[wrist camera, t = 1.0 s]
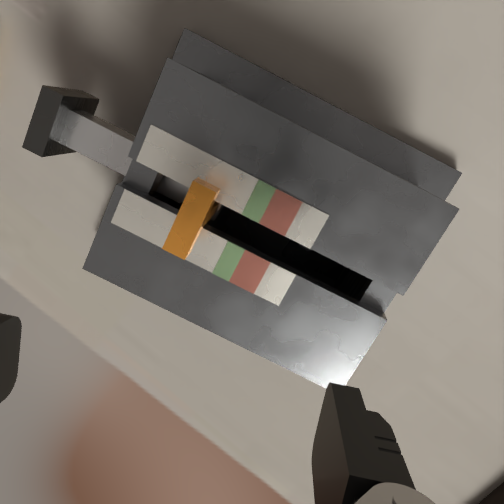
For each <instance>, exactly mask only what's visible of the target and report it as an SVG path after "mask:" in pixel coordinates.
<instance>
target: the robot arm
mask: <svg viewBox="0 0 504 504" xmlns="http://www.w3.org/2000/svg"><path fill="white" fill-rule="evenodd" d="M21 327H22V326H21V321H20V319H19V318H18V317H16V316H11V315H6V314H1V313H0V403H1V402H2V401H3V400H4V399H5V398H6V397H7V396H8V395H9V394H10V392H11V391H12V389H13V387H14V384H15V382H16V378H17V373H18V362H19V351H20V339H21ZM312 474H313V486H314V498H315V504H435V503H434V502H433V501H432V500H430V499H429V498H428V497H427V496H425V495H424V494H422V493H420V492H419V491H417V490H416V489H415V487H414V484H413V481H412V479H411V476H410V474H409V471H408V469H407V466H406V463H405V461H404V458H403V456H402V455H401V451H400V448H399V446H398V443H396V438H395V435H394V433H393V430H392V428H391V426H390V425H389V424H388V423H387V422H386V421H385V420H384V418H383V417H382V416H381V415H380V414H379V413H377V412H373V411H368V410H366V408H365V405H364V402H363V398H362V395H361V392H360V389H359V388H354V387H350V386H345V385H340V384H335V383H329V384H328V386H327V389H326V392H325V397H324V401H323V405H322V409H321V413H320V417H319V421H318V426H317V430H316V434H315V438H314V443H313V451H312Z"/></svg>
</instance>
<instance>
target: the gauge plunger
mask: <svg viewBox="0 0 504 504" xmlns="http://www.w3.org/2000/svg"><path fill="white" fill-rule="evenodd" d="M98 102H99V99H98V98H96V97H94V96H92V95H90V94H88V93H86V92H84V91H82V90H75V89H68V88H60V87H53V86H45V85H43V86H42V89H41V92H40V95H39V98H38V101H37V104H36V107H35V110H34V113H33V116H32V119H31V122H30V125H29V128H28V131H27V134H26V137H25V140H24V143H23V146H22V147H23V148H25V149H27V150H29V151H31V152H33V153H35V154H37V155H39V156H41V157H46V156H53V155H60V154H66V153H73V152H78V153H80V154H82V155H84V156H86V157H88V158H90V159H92V160H94V161H96V162H98V163H100V164H102V165H104V166H106V167H108V168H110V169H112V170H114V171H116V172H118V173H120V174H122V175H124V176H126V174H127V171H128V169H129V166H130V164H131V161H132V158H130V157H128V154H129V152H130V149H131V147H132V144H133V142H134V139H135V137H136V136H134V135H132V134H130V133H128V132H126V131H124V130H122V129H120V128H118V127H116V126H115V125H113V124H111V123H109V122H107V121H105V120H103V119H101V118H99V117H97V116H95V115H94V113H95V110H96V108H97V105H98ZM156 192H158V193H160V194H162V195H164V196H166V197H168V198H170V199H172V200H174V201H176V202H178V203H180V204H182V206H181V208H180V210H179V212H178V214H177V217H176V219H175V221H174V223H173V225H172V228H171V230H170V232H169V234H168V236H167V239H166V241H165V243H164V245H163V247H162V249H163V250H165V251H167V252H169V253H171V254H173V255H175V256H177V257H179V258H181V259H183V260H185V259H186V258H187V257H188V255H189V254H190V253H191V250H192V248H193V246H194V244H195V242H196V240H197V238H198V236H199V234H200V232H201V229H202V228H203V227H204V226H205V224H206V223H207V222H208V221H209V220H210V219H211V220H213V221H214V220H215V219H216V218H217V217H218V215H219V214H220V212H221V210H222V208H223V206H224V205H222V204H220V203H218V202H216V201H215V200H216V198H217V196H218V194H219V192H220V188H218V187H216V186H214V185H212V184H210V183H208V182H206V181H204V180H202V179H200V178H196V179H195V180H193V181H192V183H191V186H190V188H188V187H187V186H185V185H183V184H181V183H179V182H177V181H175V180H173V179H171V178H169V177H167V176H165V175H163V177H162V179H161V181H160V184H159V186H158V188H157V191H156Z"/></svg>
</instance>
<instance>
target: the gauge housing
mask: <svg viewBox="0 0 504 504" xmlns="http://www.w3.org/2000/svg"><path fill="white" fill-rule="evenodd" d="M128 157H130V158H132V161H131V164H130V166H129V169H128V171H127V174H126V176H124V178H123V181H122V182H121V183H119V184H116V187H115V189H114V191H113V194H112V196H111V199H110V201H109V204H108V206H107V209H106V211H105V214H104V216H103V219H102V221H101V224H100V226H99V229H98V231H97V234H96V236H95V239H94V241H93V244H92V246H91V249H90V251H89V254H88V256H87V259H86V261H85V263H84V266H83V268H82V269H84V270H86V271H88V272H91V273H93V274H95V275H97V276H99V277H101V278H103V279H105V280H107V281H109V282H111V283H113V284H115V285H117V286H119V287H121V288H123V289H125V290H127V291H129V292H131V293H133V294H135V295H137V296H139V297H141V298H143V299H145V300H148V301H150V302H152V303H154V304H156V305H158V306H160V307H162V308H164V309H166V310H168V311H170V312H172V313H174V314H176V315H178V316H180V317H182V318H184V319H186V320H188V321H190V322H192V323H194V324H196V325H198V326H200V327H202V328H204V329H207V330H209V331H211V332H213V333H215V334H217V335H219V336H221V337H223V338H225V339H227V340H229V341H231V342H233V343H235V344H237V345H239V346H241V347H243V348H245V349H247V350H249V351H251V352H253V353H255V354H257V355H259V356H261V357H263V358H266V359H268V360H270V361H272V362H274V363H276V364H278V365H280V366H282V367H284V368H286V369H288V370H290V371H292V372H294V373H296V374H298V375H300V376H302V377H304V378H306V379H308V380H310V381H312V382H314V383H316V384H318V385H320V386H322V387H325V388H327V386H328V384H329V383H335V384H340V385H346V383H347V382H348V380H349V379H350V377H351V376H352V374H353V373H354V371H355V370H356V368H357V366H358V365H359V363H360V362H361V360H362V359H363V357H364V356H365V354H366V353H367V351H368V349H369V348H370V346H371V345H372V343H373V342H374V340H375V339H376V337H377V336H378V334H379V332H380V331H381V329H382V328H383V326H384V325H385V323H386V322H387V319H386V317H385V314H384V312H385V310H386V309H387V307H388V306H389V304H390V303H391V301H392V300H393V298H394V296H395V295H396V293H399V294H401V295H404V294H405V292H406V291H407V289H408V288H409V286H410V285H411V283H412V281H413V280H414V278H415V277H416V275H417V274H418V272H419V271H420V269H421V268H422V266H423V265H424V263H425V261H426V260H427V258H428V257H429V255H430V254H431V252H432V251H433V249H434V248H435V246H436V244H437V243H438V241H439V240H440V238H441V237H442V235H443V234H444V232H445V231H446V229H447V227H448V226H449V224H450V223H451V221H452V220H453V218H454V217H455V215H456V214H457V212H458V210H459V208H457V207H455V206H453V205H451V204H450V203H448V202H446V201H445V199H446V198H447V196H448V195H449V193H450V192H451V190H452V188H453V187H454V185H455V184H456V182H457V181H458V179H459V177H460V176H461V174H462V173H461V172H459V171H457V170H455V169H454V168H452V167H450V166H448V165H446V164H444V163H442V162H440V161H438V160H436V159H434V158H433V157H431V156H429V155H427V154H425V153H423V152H421V151H419V150H417V149H415V148H413V147H411V146H410V145H408V144H406V143H404V142H402V141H400V140H398V139H396V138H394V137H392V136H390V135H389V134H387V133H385V132H383V131H381V130H379V129H377V128H375V127H373V126H371V125H369V124H368V123H366V122H364V121H362V120H360V119H358V118H356V117H354V116H352V115H350V114H348V113H346V112H345V111H343V110H341V109H339V108H337V107H335V106H333V105H331V104H329V103H327V102H325V101H324V100H322V99H320V98H318V97H316V96H314V95H312V94H310V93H308V92H306V91H304V90H302V89H301V88H299V87H297V86H295V85H293V84H291V83H289V82H287V81H285V80H283V79H281V78H280V77H278V76H276V75H274V74H272V73H270V72H268V71H266V70H264V69H262V68H260V67H259V66H257V65H255V64H253V63H251V62H249V61H247V60H245V59H243V58H241V57H239V56H237V55H236V54H234V53H232V52H230V51H228V50H226V49H224V48H222V47H220V46H218V45H216V44H215V43H213V42H211V41H209V40H207V39H205V38H203V37H201V36H199V35H197V34H195V33H193V32H192V31H190V30H188V29H186V28H184V31H183V33H182V36H181V38H180V41H179V43H178V45H177V48H176V50H175V53H174V55H173V58H172V59H170V58H168V57H167V60H166V62H165V65H164V67H163V70H162V72H161V75H160V77H159V80H158V82H157V85H156V87H155V90H154V92H153V95H152V97H151V100H150V102H149V105H148V107H147V110H146V112H145V115H144V117H143V120H142V122H141V124H140V127H139V129H138V132H137V134H136V137H135V139H134V142H133V144H132V147H131V149H130V152H129V154H128ZM163 175H165V176H167V177H169V178H171V179H173V180H175V181H177V182H179V183H181V184H183V185H185V186H187V187H188V188H190V186H191V183H192V181H193V180H195V179H196V178H200V179H202V180H204V181H206V182H208V183H210V184H212V185H214V186H216V187H218V188H220V192H219V194H218V196H217V198H216V200H215V201H216V202H218V203H220V204H222V205H224V206H223V208H222V210H221V212H220V214H219V215H218V217H217V218H216V219H215V220H214V221H213V220H211V219H210V220H209V221H208V222H207V223H206V224H205V226H204V227H203V228H202V229H201V232H200V234H199V236H198V238H197V240H196V242H195V244H194V246H193V248H192V250H191V253H190V254H189V255H188V257H187V258H186V259H185V260H183V259H181V258H179V257H177V256H175V255H173V254H171V253H169V252H167V251H165V250H163V249H162V247H163V245H164V243H165V241H166V239H167V236H168V234H169V232H170V230H171V228H172V225H173V223H174V221H175V219H176V217H177V214H178V212H179V210H180V208H181V206H182V204H180V203H178V202H176V201H174V200H172V199H170V198H168V197H166V196H164V195H162V194H160V193H158V192H156V191H157V188H158V186H159V184H160V181H161V179H162V177H163Z"/></svg>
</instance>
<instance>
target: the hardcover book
mask: <svg viewBox="0 0 504 504" xmlns="http://www.w3.org/2000/svg"><path fill="white" fill-rule="evenodd" d="M478 504H504V483H502V484H501V485H500V486H499V487H498V488H496V489H495V490H494V491H493V492H492V493H490V494H489V495H488V496H487V497H486V498H484V499H483V500H482V501H481V502H480V503H478Z"/></svg>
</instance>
